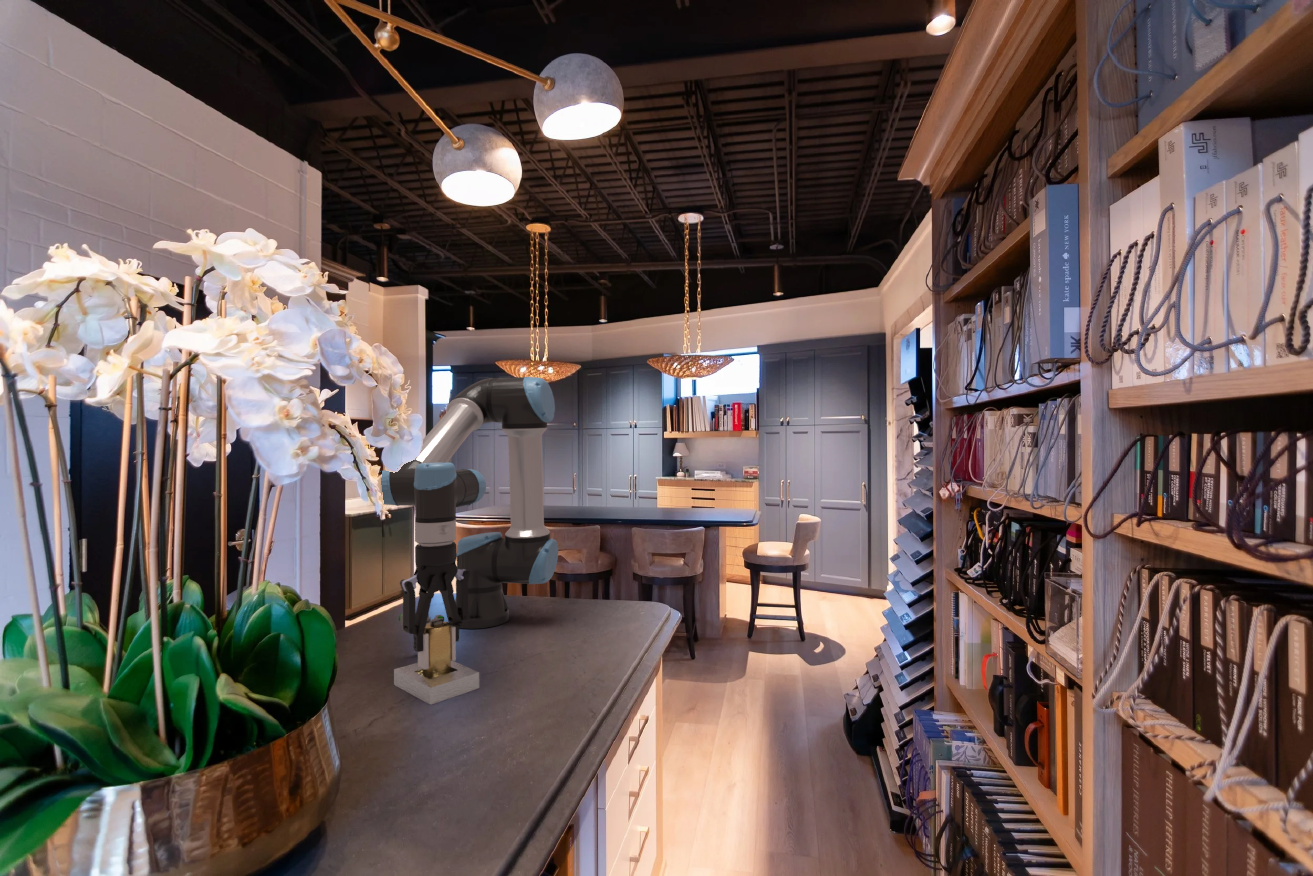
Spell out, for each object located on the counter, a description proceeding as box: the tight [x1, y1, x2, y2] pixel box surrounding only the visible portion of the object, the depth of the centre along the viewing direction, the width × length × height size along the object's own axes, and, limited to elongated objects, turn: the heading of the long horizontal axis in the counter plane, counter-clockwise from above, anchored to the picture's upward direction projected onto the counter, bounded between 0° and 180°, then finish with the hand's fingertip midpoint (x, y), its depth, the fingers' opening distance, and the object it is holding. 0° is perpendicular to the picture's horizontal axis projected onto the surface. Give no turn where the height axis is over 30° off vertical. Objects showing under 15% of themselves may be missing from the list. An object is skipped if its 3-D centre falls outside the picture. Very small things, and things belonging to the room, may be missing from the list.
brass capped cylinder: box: [423, 618, 451, 679], centre depth 122 cm, size 5×5×12 cm
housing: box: [393, 661, 480, 706], centre depth 122 cm, size 14×10×4 cm
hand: (437, 662), depth 122 cm, fingers closed on brass capped cylinder, 5 cm apart
